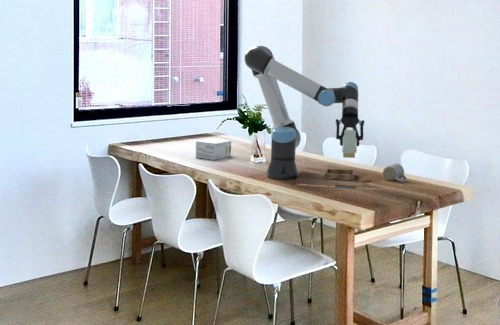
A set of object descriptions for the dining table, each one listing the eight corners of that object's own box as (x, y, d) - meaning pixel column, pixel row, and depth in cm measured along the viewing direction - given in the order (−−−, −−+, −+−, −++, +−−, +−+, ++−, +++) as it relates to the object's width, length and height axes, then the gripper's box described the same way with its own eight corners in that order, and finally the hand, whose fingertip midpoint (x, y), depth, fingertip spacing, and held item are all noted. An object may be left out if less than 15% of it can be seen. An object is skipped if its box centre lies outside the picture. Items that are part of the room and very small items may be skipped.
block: (343, 157, 314) (344, 131, 311) (343, 155, 319) (344, 129, 316) (354, 157, 313) (356, 132, 310) (354, 155, 318) (355, 130, 316)
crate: (324, 180, 320) (324, 173, 320) (325, 175, 334) (326, 168, 333) (354, 182, 318) (354, 175, 318) (354, 177, 332) (354, 169, 331)
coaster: (334, 187, 306) (335, 186, 306) (335, 183, 314) (335, 182, 314) (355, 188, 304) (355, 187, 304) (355, 184, 313) (355, 183, 313)
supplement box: (215, 160, 372) (215, 143, 371) (195, 157, 379) (195, 141, 377) (231, 156, 386) (231, 140, 385) (212, 154, 393) (212, 138, 392)
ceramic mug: (381, 179, 326) (382, 164, 325) (390, 177, 332) (391, 162, 331) (400, 183, 319) (402, 167, 318) (409, 181, 326) (410, 165, 324)
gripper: (368, 116, 326) (368, 156, 314) (330, 114, 328) (329, 154, 315) (369, 106, 320) (370, 147, 307) (331, 105, 322) (329, 145, 309)
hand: (349, 151), depth 311 cm, fingers closed on block, 5 cm apart
